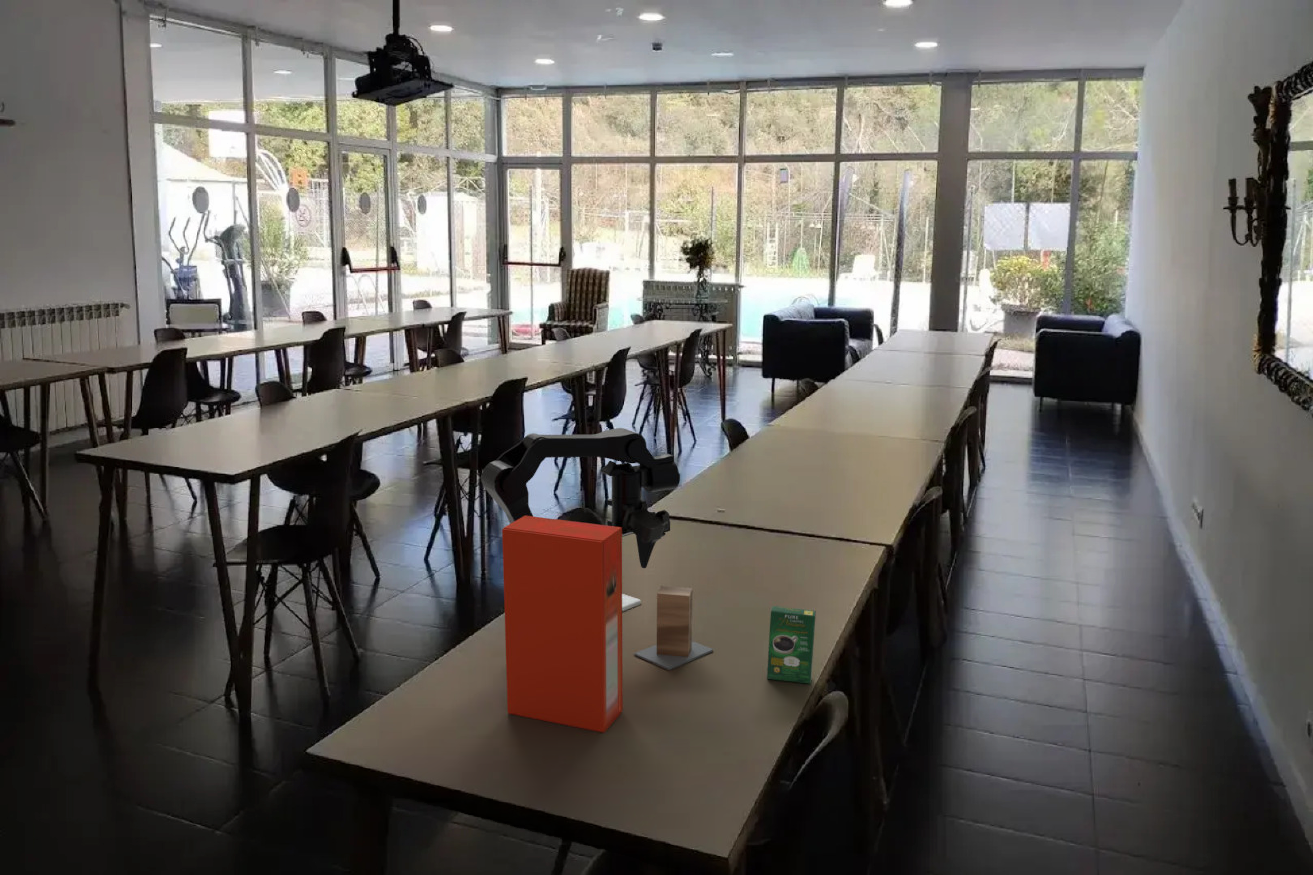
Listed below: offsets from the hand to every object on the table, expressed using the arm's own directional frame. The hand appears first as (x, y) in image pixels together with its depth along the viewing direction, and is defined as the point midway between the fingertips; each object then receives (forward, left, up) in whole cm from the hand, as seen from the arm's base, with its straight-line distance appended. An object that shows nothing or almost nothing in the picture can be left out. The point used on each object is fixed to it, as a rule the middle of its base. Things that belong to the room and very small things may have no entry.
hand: (626, 573), depth 197 cm
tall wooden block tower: (+1, -12, -13) cm, 17 cm away
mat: (+1, -12, -13) cm, 18 cm away
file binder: (-29, -16, -13) cm, 36 cm away
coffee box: (+8, -34, -13) cm, 37 cm away
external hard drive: (+8, +14, -14) cm, 21 cm away
